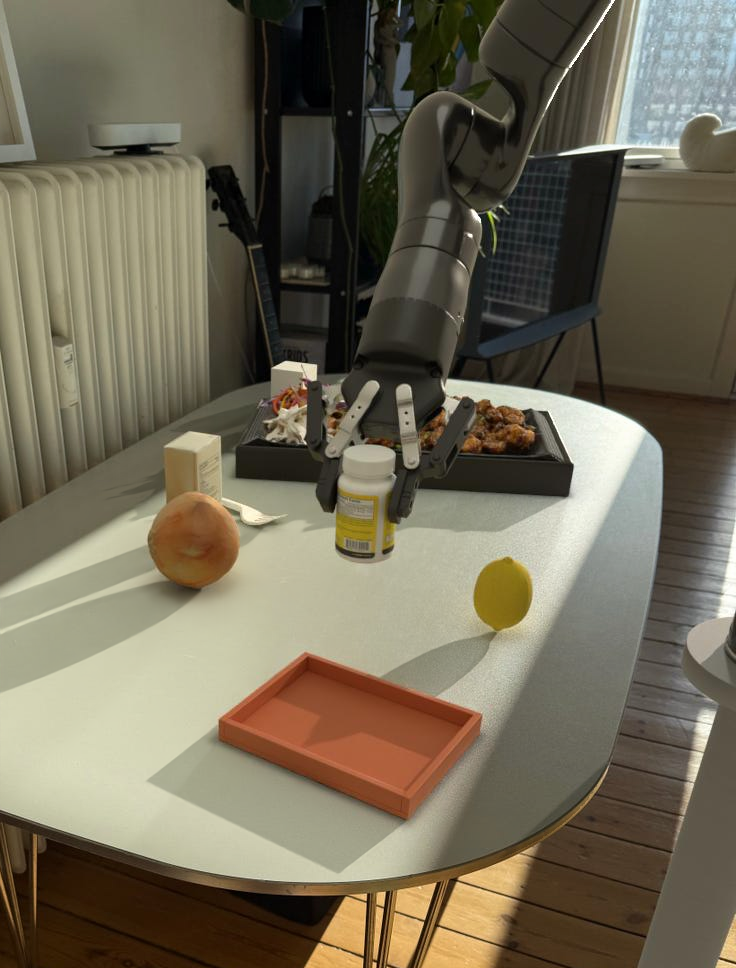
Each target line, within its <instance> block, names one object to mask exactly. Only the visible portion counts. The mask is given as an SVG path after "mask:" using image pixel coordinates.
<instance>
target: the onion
mask: <svg viewBox="0 0 736 968" xmlns="http://www.w3.org/2000/svg"><path fill="white" fill-rule="evenodd" d="M152 521H153V522H152V524H151V526H150V529H149V531H148V534H147V539H146V540H147V547H148V550H149V551H148V552H149V555H150V557H151V560H152V562H153V563H154V565H155V567H156V568H157V570H158V571H159V572H160V574H161V575H162V576H163V577H165V578H166V579H167V580H169V581H171V582H173V583H174V584H177V585H180V586H183V587H187V588H192V589H201V588H204V587H207V586H209V585H212V584H214V583H216V582H217V581H219V580H221V578H223V577H224V576H226V575H227V574H228V573H229V572H230V571H231V570H232V569H233V567H234V565H235V564H236V562H237V560H238V557H239V553H240V547H241V541H240V537H241V536H240V532H239V527H238V525H237V522H236V521H235V519H234V517H233V516H232V514H231V513H230V512H229V510H228V509H227V508H226V507H225V506H224V505H221V504H220V503H219V502H218V501H217V500H215V499H214V498H212V497H210V496H208V495H205V494H202V493H199V492H196V491H190V492H186V493H184V494H182V495H180V496H178V497H176V498H174V499H173V500H171V501H170V502H169V503H168V504H167V503H166V504H165V505H164V506H163V507H162V508H161V509H160V510H159V511H158V512H157V514H156V515H155V517H154V519H153V520H152Z"/></svg>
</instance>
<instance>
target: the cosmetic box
mask: <svg viewBox="0 0 736 968" xmlns="http://www.w3.org/2000/svg"><path fill="white" fill-rule="evenodd" d="M163 459H164V460H163V462H164V479H165V480H164V481H165V499H166V505H167V504H168V503H169V502H170V501H171V500H173V499H174V498H176V497H178V496H180V495H182V494H184V493H186V492H190V491H196V492H199V493H202V494H205V495H208V496H210V497H212V498H214V499H215V500H217V501H218V502H219V503H220V504H221V505H222V497H223V490H222V489H223V487H222V486H223V483H222V482H223V479H222V477H223V476H222V437H221V435H216V434H210V433H203V432H197V431H191V430H188V431H187V432H185V433H184V434H181V435H180V436H178V437H177V438H175V439H173V440H172V441H170V442H169V443H167V444H165V445H164V446H163ZM222 506H223V505H222Z"/></svg>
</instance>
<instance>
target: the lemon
mask: <svg viewBox="0 0 736 968" xmlns="http://www.w3.org/2000/svg"><path fill="white" fill-rule="evenodd" d="M533 595H534V588H533V581H532V577H531V573H530V572H529V570H528V569H527V567H526V566H525V565H523V563H521V562H520V561H518V560H516V559H514V558H513V557H512V556H509V555H506V556H503V558H497V559H495V560H492V561H490V562H489V563H487V564H486V565H485V566H484V567H483V568H482V569H481V570H480V572H479V574H478V576H477V578H476V582H475V585H474V588H473V595H472V596H473V598H472V600H473V608H474V610H475V613H476V616H477V617H478V618H479V620H480V621H481V622H483V624H485V625H487V626H489V627H490V628H492V629H493V630H494V631H495V632H501V631H503V630H504V629H509V628H512V627H514V626H516V625H518V624H520V622H522V621H523V620H524V619H525V618H526V616H527V615H528V613H529V610H530V608H531V606H532V601H533Z"/></svg>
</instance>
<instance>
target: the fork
mask: <svg viewBox="0 0 736 968" xmlns="http://www.w3.org/2000/svg"><path fill="white" fill-rule="evenodd" d="M222 506H223V507H225V508H229V509H231V510H234V511H237V512H238V513H239V515H240V519H241V521H242V523H244V524H245V525H248V526H260V525H265V524H268V523H270V522H273V521H276V520H279V519H281V518H284V517H286V516H288V513H287V514H286V513H285V514H282V515H277V516H276V515H275V516H274V515H267V514H264V513H262V512H260V511H259V510H257V509H255V508H253V507H250V506H247V505H245V504H242V503H240V502H237V501H234V500H232V499H229V498H225V497H223V496H222Z"/></svg>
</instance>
